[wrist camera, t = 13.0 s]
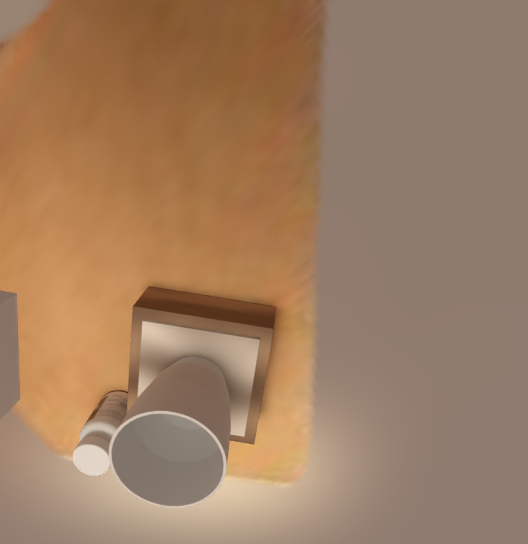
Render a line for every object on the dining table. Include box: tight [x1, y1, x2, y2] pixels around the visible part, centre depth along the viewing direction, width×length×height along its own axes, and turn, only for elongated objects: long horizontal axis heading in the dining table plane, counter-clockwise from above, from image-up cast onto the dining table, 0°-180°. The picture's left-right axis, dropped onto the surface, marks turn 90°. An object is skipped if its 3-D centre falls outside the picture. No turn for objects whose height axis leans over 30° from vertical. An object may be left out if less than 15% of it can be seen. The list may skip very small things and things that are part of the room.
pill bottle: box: [73, 391, 128, 476], centre depth 46 cm, size 4×4×8 cm
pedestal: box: [127, 287, 276, 444], centre depth 44 cm, size 12×12×5 cm
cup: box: [109, 356, 231, 508], centre depth 37 cm, size 8×8×10 cm
